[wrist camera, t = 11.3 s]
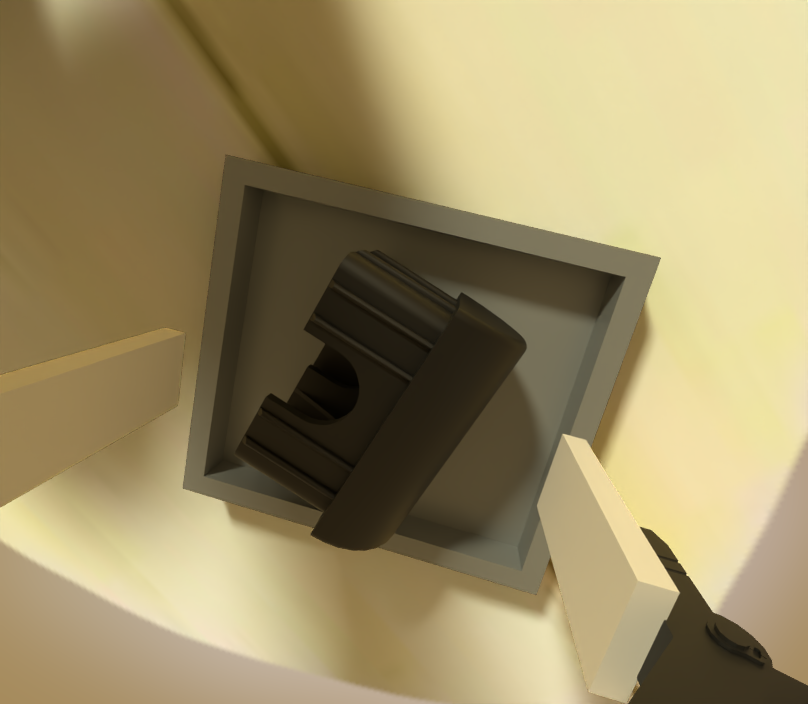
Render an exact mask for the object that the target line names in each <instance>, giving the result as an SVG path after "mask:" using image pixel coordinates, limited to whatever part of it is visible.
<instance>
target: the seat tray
mask: <svg viewBox="0 0 808 704" xmlns="http://www.w3.org/2000/svg"><path fill="white" fill-rule="evenodd" d="M361 250H367V251H369V252H371V251H375V250H379V251H381V252H382V253H384V254H386V255H387V256H389V257H390V258H392V259H393V260H395V261H397V262H398V263H400V264H401V265H403V266H404V267H406V268H408V269H409V270H411V271H412V272H414V273H415V274H417V275H419V276H420V277H422V278H423V279H425V280H426V281H428V282H429V283H431V284H433V285H434V286H436V287H437V288H439V289H440V290H442V291H444V292H445V293H447V294H448V295H450V296H451V297H453V298H455V299H457V298H458V296H459V295H460V293H461V292H463V293H464V294H466V295H467V296H469V297H470V298H472V299H473V300H475V301H476V302H478V303H479V304H481V305H482V306H484V307H485V308H487V309H488V310H489V311H491V312H492V313H494V314H495V315H496V316H498V317H499V318H501V319H502V320H503V321H504V322H506V323H507V324H508V325H510V326H511V327H512V328H513V329H514V330H516V331H517V332H518V333H519V334H520V335H521V336H522V337H523V338H524V340H525V341H526V344H527V349H526V351H525V353H524V354H523V356H522V357H521V358H520V360H519V361H518V363H517V364H516V365H515V367H514V368H513V369H512V371H511V372H510V374H509V375H508V376H507V378H506V379H505V381H504V382H503V383H502V385H501V386H500V388H499V389H498V390H497V392H496V393H495V394H494V396H493V397H492V399H491V400H490V401H489V403H488V404H487V406H486V407H485V408H484V410H483V411H482V413H481V414H480V415H479V417H478V418H477V419H476V421H475V422H474V424H473V425H472V426H471V428H470V429H469V431H468V432H467V433H466V435H465V436H464V437H463V439H462V440H461V442H460V443H459V444H458V446H457V447H456V449H455V450H454V451H453V453H452V454H451V456H450V457H449V458H448V460H447V461H446V462H445V464H444V465H443V467H442V468H441V469H440V471H439V472H438V474H437V475H436V476H435V478H434V479H433V481H432V482H431V483H430V485H429V486H428V487H427V489H426V490H425V492H424V493H423V494H422V496H421V497H420V499H419V500H418V501H417V503H416V504H415V505H414V507H413V508H412V510H411V511H410V512H409V514H408V515H407V517H406V518H405V519H404V521H403V522H402V524H401V525H400V526H399V528H398V529H397V530H396V532H395V533H394V535H393V536H392V537H391V538H390V539H389V540H388V541H387V542H386V543H385V544H383V545H381V546H379V548H382V549H385V550H389V551H392V552H395V553H398V554H402V555H405V556H408V557H412V558H415V559H418V560H422V561H425V562H428V563H432V564H435V565H438V566H442V567H445V568H448V569H452V570H455V571H458V572H461V573H465V574H468V575H471V576H475V577H478V578H481V579H485V580H488V581H491V582H495V583H498V584H501V585H505V586H508V587H511V588H514V589H518V590H521V591H524V592H528V593H531V594H534V595H537V592H538V589H539V586H540V584H541V581H542V578H543V576H544V573H545V570H546V568H547V565H548V562H549V559H550V557H551V555H550V552H549V548H548V544H547V541H546V537H545V534H544V530H543V526H542V523H541V519H540V515H539V512H538V508H537V504H538V501H539V498H540V495H541V493H542V490H543V487H544V484H545V481H546V479H547V476H548V473H549V470H550V467H551V465H552V462H553V459H554V456H555V453H556V451H557V448H558V445H559V442H560V439H561V437H562V434H566V435H570V436H573V437H577V438H581V439H585V440H586V441H587V442H588V444H589V446H590V447H591V446H592V443H593V440H594V438H595V435H596V432H597V430H598V427H599V424H600V421H601V419H602V416H603V413H604V411H605V408H606V405H607V402H608V400H609V397H610V394H611V392H612V389H613V386H614V384H615V381H616V378H617V375H618V373H619V370H620V367H621V365H622V362H623V359H624V357H625V354H626V351H627V348H628V346H629V343H630V340H631V338H632V335H633V332H634V329H635V327H636V324H637V321H638V319H639V316H640V313H641V311H642V308H643V305H644V302H645V300H646V297H647V294H648V292H649V289H650V286H651V283H652V281H653V278H654V275H655V273H656V270H657V267H658V265H659V262H660V259H661V258H660V257H656V256H651V255H647V254H643V253H639V252H635V251H630V250H626V249H622V248H618V247H613V246H609V245H605V244H601V243H597V242H592V241H588V240H584V239H580V238H575V237H571V236H567V235H563V234H559V233H554V232H550V231H546V230H542V229H538V228H533V227H529V226H525V225H521V224H516V223H512V222H508V221H504V220H500V219H495V218H491V217H487V216H483V215H478V214H474V213H470V212H466V211H462V210H457V209H453V208H449V207H445V206H441V205H436V204H432V203H428V202H424V201H419V200H415V199H411V198H407V197H403V196H398V195H394V194H390V193H386V192H381V191H377V190H373V189H369V188H365V187H360V186H356V185H352V184H348V183H344V182H339V181H335V180H331V179H327V178H322V177H318V176H314V175H310V174H306V173H301V172H297V171H293V170H289V169H284V168H280V167H276V166H272V165H268V164H263V163H259V162H255V161H251V160H246V159H242V158H238V157H234V156H230V155H226V157H225V165H224V172H223V180H222V188H221V196H220V203H219V211H218V219H217V227H216V234H215V242H214V250H213V258H212V265H211V273H210V281H209V289H208V296H207V304H206V312H205V320H204V327H203V335H202V343H201V351H200V358H199V366H198V374H197V382H196V389H195V397H194V405H193V413H192V420H191V428H190V436H189V444H188V451H187V459H186V467H185V475H184V482H183V489H186V490H190V491H193V492H196V493H200V494H203V495H206V496H210V497H213V498H216V499H220V500H223V501H226V502H229V503H233V504H236V505H239V506H243V507H246V508H249V509H253V510H256V511H259V512H263V513H266V514H269V515H273V516H276V517H279V518H282V519H286V520H289V521H292V522H296V523H299V524H302V525H306V526H309V527H312V528H314V527H315V525H316V524H317V522H318V520H319V518H320V516H321V515H322V513H323V511H321V510H320V509H318V508H316V507H315V506H313V505H312V504H310V503H309V502H307V501H305V500H304V499H302V498H301V497H299V496H298V495H296V494H294V493H293V492H291V491H290V490H288V489H287V488H285V487H283V486H282V485H280V484H279V483H277V482H276V481H274V480H272V479H271V478H269V477H268V476H266V475H265V474H263V473H261V472H260V471H258V470H257V469H255V468H254V467H252V466H250V465H249V464H247V463H246V462H244V461H243V460H241V459H239V458H238V457H236V456H235V455H234V454H235V451H236V449H237V447H238V445H239V444H240V442H241V440H242V438H243V437H244V435H245V433H246V431H247V429H248V428H249V426H250V424H251V422H252V420H253V419H254V417H255V415H256V413H257V412H258V410H259V408H260V406H261V404H262V403H263V401H264V399H265V397H266V396H267V395H269V394H270V393H272V394H273V395H275V396H277V397H278V398H280V399H281V400H283V401H284V402H286V403H287V401H288V400H289V398H290V396H291V394H292V393H293V391H294V389H295V387H296V386H297V384H298V382H299V381H300V379H301V377H302V375H303V374H304V372H305V370H306V368H307V367H308V366H309V365H310V364H311V365H313V364H314V362H315V361H316V359H317V357H318V356H319V354H320V352H321V350H322V349H323V347H324V345H325V343H323V342H322V341H320V340H319V339H317V338H315V337H314V336H312V335H311V334H309V333H308V332H306V331H305V330H303V329H304V327H305V326H306V324H307V322H308V320H309V319H310V317H311V315H312V313H313V311H314V310H315V308H316V306H317V304H318V302H319V301H320V299H321V297H322V295H323V294H324V292H325V290H326V288H327V286H328V285H329V283H330V281H331V279H332V277H333V276H334V274H335V272H336V270H337V269H338V267H339V265H340V264H341V262H342V261H343V259H344V258H345V257H346V256H347V255H348V254H349V253H350V252H357V251H361Z"/></svg>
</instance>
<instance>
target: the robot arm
mask: <svg viewBox="0 0 808 704" xmlns="http://www.w3.org/2000/svg"><path fill="white" fill-rule="evenodd" d="M185 337H186V333H185V332H181V331H177V330H173V329H170V328H166V327H165V328H161V329H158V330H154V331H151V332H147V333H144V334H140V335H137V336H133V337H130V338H126V339H123V340H119V341H116V342H112V343H109V344H105V345H102V346H98V347H95V348H91V349H88V350H85V351H81V352H78V353H74V354H71V355H67V356H64V357H60V358H57V359H53V360H50V361H46V362H43V363H39V364H36V365H32V366H29V367H25V368H22V369H18V370H15V371H11V372H8V373H4V374H1V375H0V507H2V506H4V505H6V504H7V503H9V502H11V501H12V500H14V499H16V498H18V497H19V496H21V495H23V494H25V493H26V492H28V491H30V490H32V489H33V488H35V487H37V486H39V485H40V484H42V483H44V482H46V481H47V480H49V479H51V478H53V477H54V476H56V475H58V474H60V473H61V472H63V471H65V470H67V469H68V468H70V467H72V466H73V465H75V464H77V463H79V462H80V461H82V460H84V459H86V458H87V457H89V456H91V455H93V454H94V453H96V452H98V451H100V450H101V449H103V448H105V447H107V446H108V445H110V444H112V443H114V442H115V441H117V440H119V439H121V438H122V437H124V436H126V435H128V434H129V433H131V432H133V431H134V430H136V429H138V428H140V427H141V426H143V425H145V424H147V423H148V422H150V421H152V420H154V419H155V418H157V417H159V416H161V415H162V414H164V413H166V412H168V411H169V410H171V409H173V408H175V407H176V406H178V401H179V392H180V383H181V374H182V364H183V355H184V346H185ZM537 508H538V512H539V515H540V519H541V523H542V526H543V530H544V534H545V537H546V541H547V544H548V548H549V552H550V555H551V559H552V563H553V566H554V570H555V574H556V577H557V581H558V584H559V588H560V592H561V595H562V599H563V603H564V606H565V610H566V613H567V617H568V621H569V624H570V628H571V632H572V635H573V639H574V642H575V646H576V650H577V653H578V657H579V661H580V664H581V668H582V671H583V675H584V679H585V682H586V686H587V690H588V692H589V693H592V694H596V695H599V696H602V697H606V698H609V699H612V700H615V701H619V702H622V703H625V704H627V702H628V700H629V697H630V695H631V693H632V691H633V689H634V687H635V685H636V683H637V681H638V682H639V685H640V687H639V689H638V690H637V691H636V693H635V694H634V696H633V697H632V699H631V700H630V702H629V703H628V704H808V686H807V685H806V684H804V683H801V682H799V681H798V680H795V679H794V678H792V677H790V676H787V675H786V674H784V673H781V672H780V671H778V670H776V669H774V668H773V666H772V660H771V658H770V657H769V655H768V653H767V652H766V650H765V649H764V648H763V646H761V644H760V643H759V642H758V641H757V640H755V638H754V637H753V636H752V635H750V634H749V633H748V632H746V631H745V630H744V629H742V628H741V627H740V626H738V625H737V624H735V623H734V622H732V621H730V620H728V619H726V618H724V617H723V616H721V615H718V614H715V613H713V612H712V610H711V609H710V607H709V606H708V604H707V603H706V601H705V600H704V598H703V597H702V595H701V594H700V592H699V591H698V590H697V588H696V587H695V585H694V584H693V582H692V581H691V579H690V578H689V576H686V574H687V573H686V572H685V570H684V569H683V567H682V566H681V564H680V563H678V560H677V558H676V557H675V555H674V554H673V552H672V551H671V549H670V548H669V546H668V545H667V544H666V543H665V542H664V541H663V540H661V539H660V538H659V537H658V536H657V535H656V534H655V533H654V532H653V531H652V530H649V529H645V528H642V527H639V525H638V524H637V522H636V521H635V519H634V517H633V516H632V514H631V512H630V511H629V509H628V508H627V506H626V504H625V503H624V501H623V499H622V498H621V496H620V495H619V493H618V491H617V490H616V488H615V486H614V485H613V483H612V481H611V480H610V478H609V477H608V475H607V473H606V472H605V470H604V468H603V467H602V465H601V464H600V462H599V460H598V459H597V457H596V455H595V454H594V452H593V451H592V449H591V447H590V446H589V444H588V442H587V441H586V440H585V439H581V438H577V437H573V436H570V435H566V434H562V437H561V439H560V442H559V445H558V448H557V451H556V453H555V456H554V459H553V462H552V465H551V467H550V470H549V473H548V476H547V479H546V481H545V484H544V487H543V490H542V493H541V495H540V498H539V501H538V504H537Z"/></svg>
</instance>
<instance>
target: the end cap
mask: <svg viewBox="0 0 808 704" xmlns="http://www.w3.org/2000/svg"><path fill="white" fill-rule="evenodd" d="M303 330H305V331H306V332H308V333H309V334H311V335H312V336H314V337H315V338H317V339H319V340H320V341H322V342H323V343H325V345H324V347H323V349H322V350H321V352H320V354H319V356H318V357H317V359H316V361H315V362H314V364H313V365H311V364H310V365H309V366H308V367H307V368H306V370H305V372H304V374H303V375H302V377H301V379H300V381H299V382H298V384H297V386H296V387H295V389H294V391H293V393H292V394H291V396H290V398H289V400H288V401H287V403H286V402H284V401H283V400H281V399H280V398H278V397H277V396H275V395H273V394H272V393H270V394H269V395H267V396H266V397H265V399H264V401H263V403H262V404H261V406H260V408H259V410H258V412H257V413H256V415H255V417H254V419H253V420H252V422H251V424H250V426H249V428H248V429H247V431H246V433H245V435H244V437H243V438H242V440H241V442H240V444H239V445H238V447H237V449H236V451H235V454H234V455H235V456H236V457H238V458H239V459H241V460H243V461H244V462H246V463H247V464H249V465H250V466H252V467H254V468H255V469H257V470H258V471H260V472H261V473H263V474H265V475H266V476H268V477H269V478H271V479H272V480H274V481H276V482H277V483H279V484H280V485H282V486H283V487H285V488H287V489H288V490H290V491H291V492H293V493H294V494H296V495H298V496H299V497H301V498H302V499H304V500H305V501H307V502H309V503H310V504H312V505H313V506H315V507H316V508H318V509H320V510H321V511H323V513H322V515H321V516H320V518H319V520H318V522H317V524H316V525H315V527H314V529H313V531H312V533H311V535H312V536H313V537H315V538H317V539H319V540H321V541H323V542H325V543H327V544H330V545H333V546H335V547H338V548H343V549H348V550H364V551H365V550H369V549H374V548H377V547H379V546H381V545H383V544H385V543H386V542H387V541H388V540H389V539H390V538H391V537H392V536H393V535H394V533H395V532H396V530H397V529H398V528H399V526H400V525H401V524H402V522H403V521H404V519H405V518H406V517H407V515H408V514H409V512H410V511H411V510H412V508H413V507H414V505H415V504H416V503H417V501H418V500H419V499H420V497H421V496H422V494H423V493H424V492H425V490H426V489H427V487H428V486H429V485H430V483H431V482H432V481H433V479H434V478H435V476H436V475H437V474H438V472H439V471H440V469H441V468H442V467H443V465H444V464H445V462H446V461H447V460H448V458H449V457H450V456H451V454H452V453H453V451H454V450H455V449H456V447H457V446H458V444H459V443H460V442H461V440H462V439H463V437H464V436H465V435H466V433H467V432H468V431H469V429H470V428H471V426H472V425H473V424H474V422H475V421H476V419H477V418H478V417H479V415H480V414H481V413H482V411H483V410H484V408H485V407H486V406H487V404H488V403H489V401H490V400H491V399H492V397H493V396H494V394H495V393H496V392H497V390H498V389H499V388H500V386H501V385H502V383H503V382H504V381H505V379H506V378H507V376H508V375H509V374H510V372H511V371H512V369H513V368H514V367H515V365H516V364H517V363H518V361H519V360H520V358H521V357H522V356H523V354H524V353H525V351H526V349H527V344H526V341H525V340H524V338H523V337H522V336H521V335H520V334H519V333H518V332H517V331H516V330H514V329H513V328H512V327H511V326H510V325H508V324H507V323H506V322H504V321H503V320H502V319H501V318H499V317H498V316H496V315H495V314H494V313H492V312H491V311H489V310H488V309H487V308H485V307H484V306H482V305H481V304H479V303H478V302H476V301H475V300H473V299H472V298H470V297H469V296H467V295H466V294H464V293H463V292H461V293H460V295H459V296H458V298H457V299H455V298H453V297H451V296H450V295H448V294H447V293H445V292H444V291H442V290H440V289H439V288H437V287H436V286H434V285H433V284H431V283H429V282H428V281H426V280H425V279H423V278H422V277H420V276H419V275H417V274H415V273H414V272H412V271H411V270H409V269H408V268H406V267H404V266H403V265H401V264H400V263H398V262H397V261H395V260H393V259H392V258H390V257H389V256H387V255H386V254H384V253H382V252H381V251H379V250H375V251H371V252H369V251H367V250H361V251H357V252H350V253H349V254H348V255H347V256H346V257H345V258H344V259H343V261H342V262H341V264H340V265H339V267H338V269H337V270H336V272H335V274H334V276H333V277H332V279H331V281H330V283H329V285H328V286H327V288H326V290H325V292H324V294H323V295H322V297H321V299H320V301H319V302H318V304H317V306H316V308H315V310H314V311H313V313H312V315H311V317H310V319H309V320H308V322H307V324H306V326H305V327H304V329H303Z"/></svg>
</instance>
